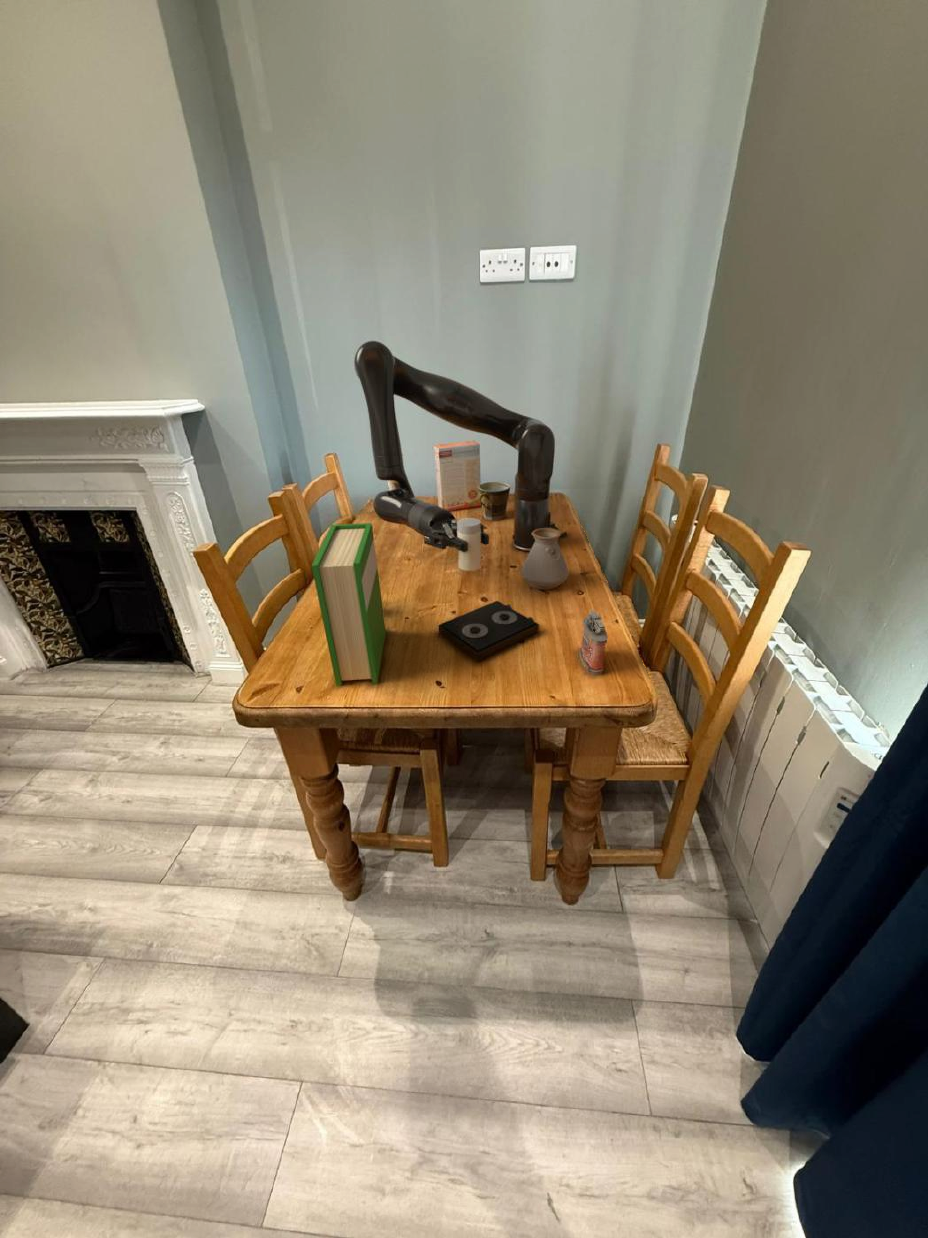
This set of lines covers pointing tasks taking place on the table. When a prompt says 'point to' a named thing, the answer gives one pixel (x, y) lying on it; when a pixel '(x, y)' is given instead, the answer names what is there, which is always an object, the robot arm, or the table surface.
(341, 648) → the hardback book
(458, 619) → the stove
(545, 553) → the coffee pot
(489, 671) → the table surface
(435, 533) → the robot arm
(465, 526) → the salt shaker
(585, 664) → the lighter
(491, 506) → the ceramic cup
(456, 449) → the cracker box
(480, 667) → the table surface
